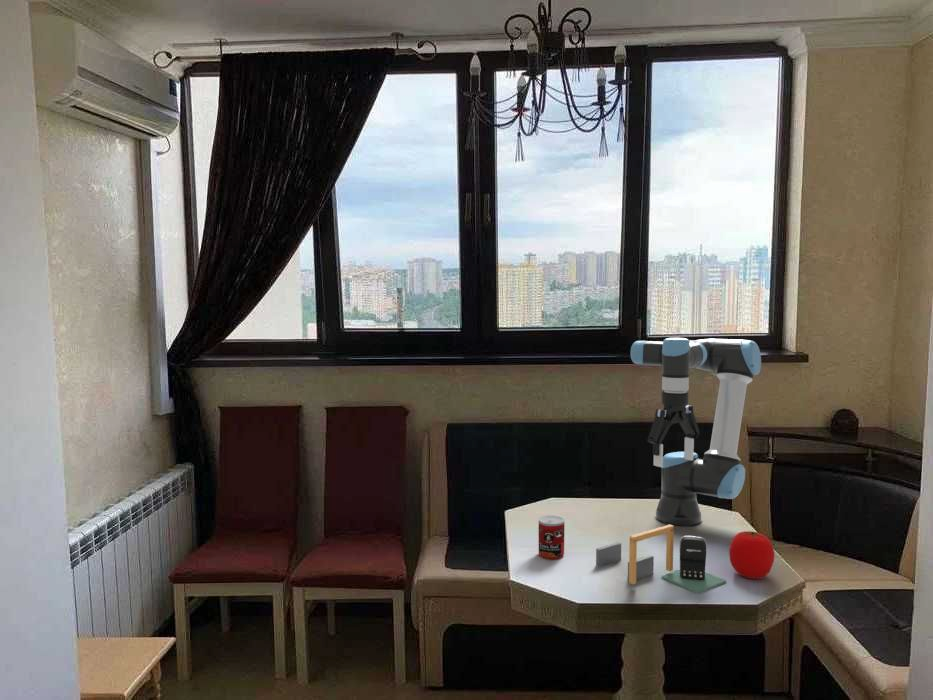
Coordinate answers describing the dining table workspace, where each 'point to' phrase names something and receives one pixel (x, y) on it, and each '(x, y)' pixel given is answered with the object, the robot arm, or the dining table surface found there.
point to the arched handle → (644, 535)
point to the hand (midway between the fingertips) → (673, 462)
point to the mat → (694, 581)
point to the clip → (614, 554)
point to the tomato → (751, 554)
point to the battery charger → (692, 557)
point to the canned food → (551, 537)
